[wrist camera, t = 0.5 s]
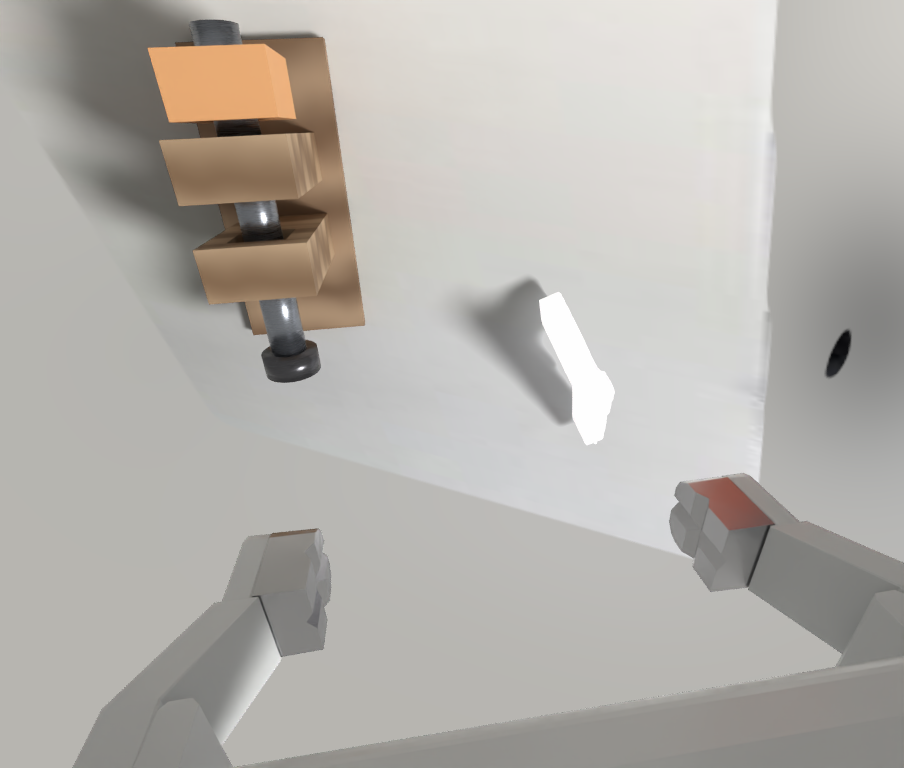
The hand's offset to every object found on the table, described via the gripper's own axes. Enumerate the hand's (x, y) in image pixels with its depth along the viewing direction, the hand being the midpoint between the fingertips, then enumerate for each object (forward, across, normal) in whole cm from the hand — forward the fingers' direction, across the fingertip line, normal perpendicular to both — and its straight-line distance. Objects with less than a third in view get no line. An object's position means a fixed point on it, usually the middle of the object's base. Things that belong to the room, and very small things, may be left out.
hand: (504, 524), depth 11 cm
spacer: (+36, +12, -12) cm, 40 cm away
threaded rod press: (+43, +12, -3) cm, 45 cm away
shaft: (+35, +12, -2) cm, 37 cm away
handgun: (+44, -18, +19) cm, 51 cm away
